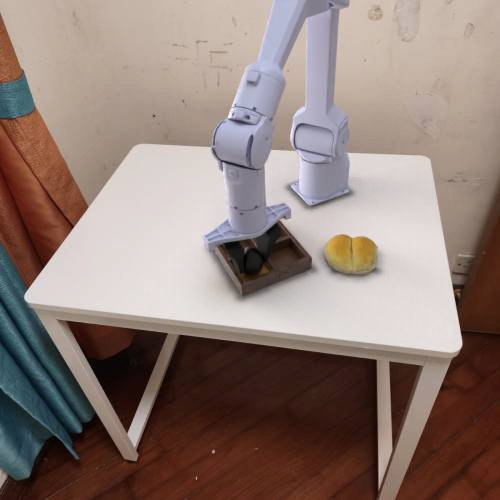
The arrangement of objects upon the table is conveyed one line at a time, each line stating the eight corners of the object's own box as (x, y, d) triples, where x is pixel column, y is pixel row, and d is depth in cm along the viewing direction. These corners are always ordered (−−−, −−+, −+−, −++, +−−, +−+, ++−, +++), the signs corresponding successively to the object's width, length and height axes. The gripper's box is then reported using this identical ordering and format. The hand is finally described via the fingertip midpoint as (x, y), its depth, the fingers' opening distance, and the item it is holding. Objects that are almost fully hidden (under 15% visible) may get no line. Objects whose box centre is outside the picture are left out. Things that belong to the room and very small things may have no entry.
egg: (262, 260, 77) (261, 238, 73) (264, 277, 74) (263, 256, 70) (238, 262, 77) (236, 240, 73) (240, 279, 74) (237, 258, 70)
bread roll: (326, 240, 81) (328, 223, 78) (377, 246, 79) (380, 229, 76) (320, 272, 76) (321, 255, 73) (375, 280, 74) (378, 263, 71)
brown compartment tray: (275, 225, 85) (275, 214, 83) (311, 268, 76) (312, 257, 75) (212, 248, 81) (210, 237, 80) (242, 296, 73) (241, 285, 71)
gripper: (273, 169, 70) (275, 234, 79) (189, 201, 65) (201, 266, 74) (299, 192, 65) (297, 258, 74) (210, 228, 60) (221, 293, 70)
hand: (251, 264), depth 74 cm, fingers closed on egg, 4 cm apart
